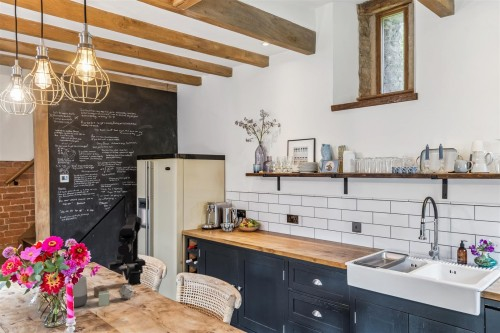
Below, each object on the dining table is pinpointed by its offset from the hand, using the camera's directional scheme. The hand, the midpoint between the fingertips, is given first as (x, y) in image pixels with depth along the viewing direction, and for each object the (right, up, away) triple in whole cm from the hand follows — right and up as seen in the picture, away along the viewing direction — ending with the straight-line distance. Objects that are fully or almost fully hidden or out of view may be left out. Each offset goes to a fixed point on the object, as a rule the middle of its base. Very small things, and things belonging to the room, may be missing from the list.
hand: (126, 280), depth 207 cm
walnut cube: (-16, -10, +4) cm, 19 cm away
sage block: (-9, -10, -8) cm, 16 cm away
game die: (0, -10, 0) cm, 10 cm away
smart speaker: (-22, -10, -10) cm, 26 cm away
